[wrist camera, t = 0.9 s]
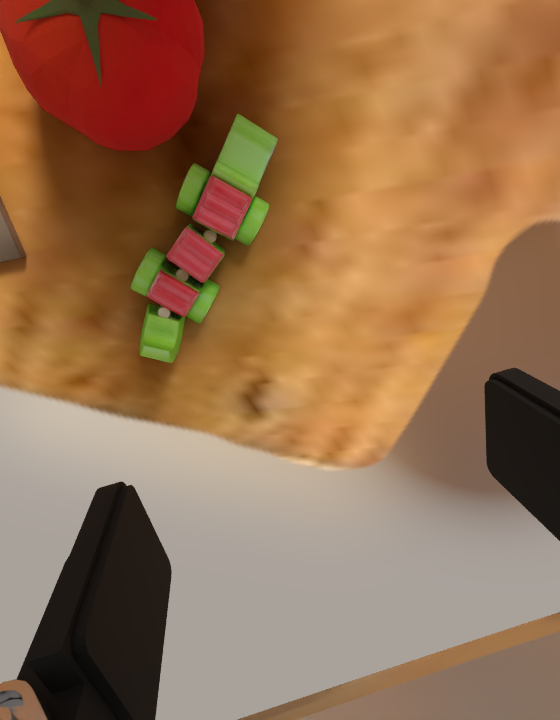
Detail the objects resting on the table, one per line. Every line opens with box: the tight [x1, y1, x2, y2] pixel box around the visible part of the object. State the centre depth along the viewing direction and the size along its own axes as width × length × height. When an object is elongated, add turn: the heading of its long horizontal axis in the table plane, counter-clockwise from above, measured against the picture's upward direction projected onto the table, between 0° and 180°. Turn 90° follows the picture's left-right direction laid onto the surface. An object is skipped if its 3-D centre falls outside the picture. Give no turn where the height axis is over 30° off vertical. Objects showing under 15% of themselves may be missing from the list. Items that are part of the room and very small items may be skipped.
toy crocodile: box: [131, 114, 278, 363], centre depth 31 cm, size 20×7×6 cm, turn 148°
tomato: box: [0, 0, 205, 151], centre depth 24 cm, size 12×12×10 cm
